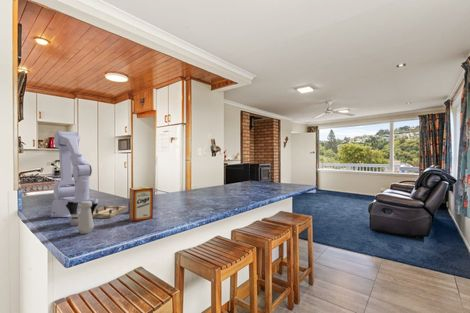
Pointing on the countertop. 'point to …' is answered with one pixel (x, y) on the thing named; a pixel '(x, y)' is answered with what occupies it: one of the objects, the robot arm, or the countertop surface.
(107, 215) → the pin tray
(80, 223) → the salt shaker
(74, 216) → the drive block
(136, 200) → the baking soda box
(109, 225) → the countertop surface
